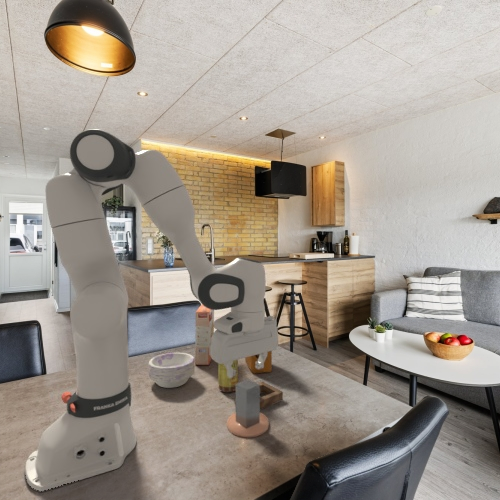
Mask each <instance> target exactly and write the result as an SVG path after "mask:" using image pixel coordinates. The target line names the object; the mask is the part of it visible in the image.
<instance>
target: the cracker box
mask: <svg viewBox="0 0 500 500" xmlns="http://www.w3.org/2000/svg"><path fill="white" fill-rule="evenodd" d="M214 321H215V310H212V309H209V308H206V307H205V306H204V305H203V304H201V305H199V307H198V308H197V310H195V330H194V331H195V336H194V337H195V338H194V339H195V342H194V343H195V346H194V348H195V350H194V352H195V353H194V356H195V357H194V359H195V362H194V363H195V364H194V365H195V366H210V363H211V361H212V358H211V342H212V336H213V333H214V332H215V328H214Z"/></svg>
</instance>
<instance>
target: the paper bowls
mask: <svg viewBox="0 0 500 500" xmlns="http://www.w3.org/2000/svg"><path fill="white" fill-rule="evenodd" d="M195 366H196V365H195V357H194V356H193V355H192V354H190V353H186V352H170V353H169V352H167V353H163V354H159V355H156V356H154V357H151V359H149V361H148V378H149V379H150V380H152V381H153V382H155V384H156V385H157V386H159V387H162V388H167V389H171V388H177V387H180V386H183V385H184V384H186V383H187V382H188V380H189V379H190V378H191V377H192V376H193V375H195V371H196V370H195Z"/></svg>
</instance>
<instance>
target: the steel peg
mask: <svg viewBox="0 0 500 500" xmlns="http://www.w3.org/2000/svg"><path fill="white" fill-rule="evenodd" d="M260 394H261V393H260V385H259V384H258V383H257V382H255V381H253V380H251V379H246V380H242V381H240V382H238V383H237V384H236V390H235V413H236V422H238V423H239V424H240V425H242V426H243V427H245V428H246V429H247V428H249V427H251V426H253V425H255V424H257V423H259V422H260V413H261V410H260V397H261V395H260Z"/></svg>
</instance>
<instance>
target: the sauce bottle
mask: <svg viewBox="0 0 500 500" xmlns="http://www.w3.org/2000/svg"><path fill="white" fill-rule="evenodd" d="M238 364H239V359H238V360H234V361H233V365H231V367H232V368H233V369H234V370H236V373H235V374H236V376H235V377H232V378H229V377H228V376H227V369H226V367H225V365H224V363H223V364H219V363H218V389H219V390H220V391H221V392H223V393H231V392H234V391H235V392H236V384H237V383H239V381H238V380H239V379H238V378H239V377H238V375H239V372H238V371H239V370H238V369H239V365H238Z"/></svg>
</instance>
